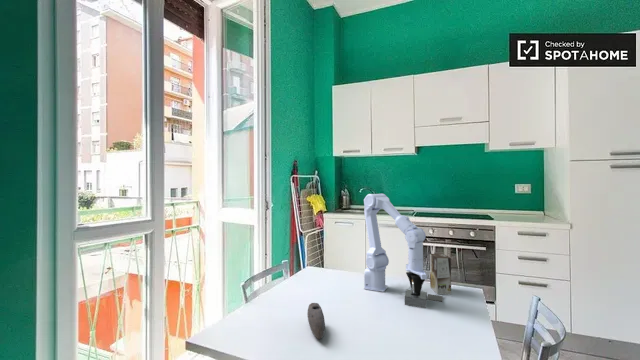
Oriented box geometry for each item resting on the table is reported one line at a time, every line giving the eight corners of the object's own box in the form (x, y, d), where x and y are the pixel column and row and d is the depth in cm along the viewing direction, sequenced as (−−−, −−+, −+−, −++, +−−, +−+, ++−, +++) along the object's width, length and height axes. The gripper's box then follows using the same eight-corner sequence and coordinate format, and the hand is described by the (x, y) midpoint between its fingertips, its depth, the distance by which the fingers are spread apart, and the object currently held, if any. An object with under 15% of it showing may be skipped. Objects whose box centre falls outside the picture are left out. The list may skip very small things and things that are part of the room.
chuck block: (404, 304, 115) (404, 296, 115) (408, 291, 129) (408, 284, 129) (425, 308, 112) (425, 299, 112) (427, 294, 126) (427, 286, 126)
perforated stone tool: (328, 343, 87) (328, 320, 87) (311, 344, 87) (311, 321, 87) (321, 320, 102) (321, 300, 102) (306, 321, 102) (306, 301, 102)
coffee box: (451, 294, 125) (451, 257, 126) (437, 294, 126) (436, 257, 126) (443, 287, 135) (443, 253, 135) (429, 287, 135) (429, 252, 135)
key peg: (414, 300, 116) (414, 280, 116) (411, 298, 118) (410, 278, 118) (420, 299, 116) (419, 280, 116) (416, 297, 119) (415, 278, 119)
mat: (426, 300, 120) (426, 298, 120) (427, 295, 125) (427, 293, 125) (442, 302, 117) (442, 301, 117) (442, 297, 123) (442, 296, 123)
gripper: (399, 254, 124) (399, 285, 124) (414, 263, 110) (414, 298, 110) (414, 253, 125) (414, 284, 125) (431, 262, 111) (432, 297, 110)
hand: (415, 291), depth 117 cm, fingers closed on key peg, 2 cm apart
